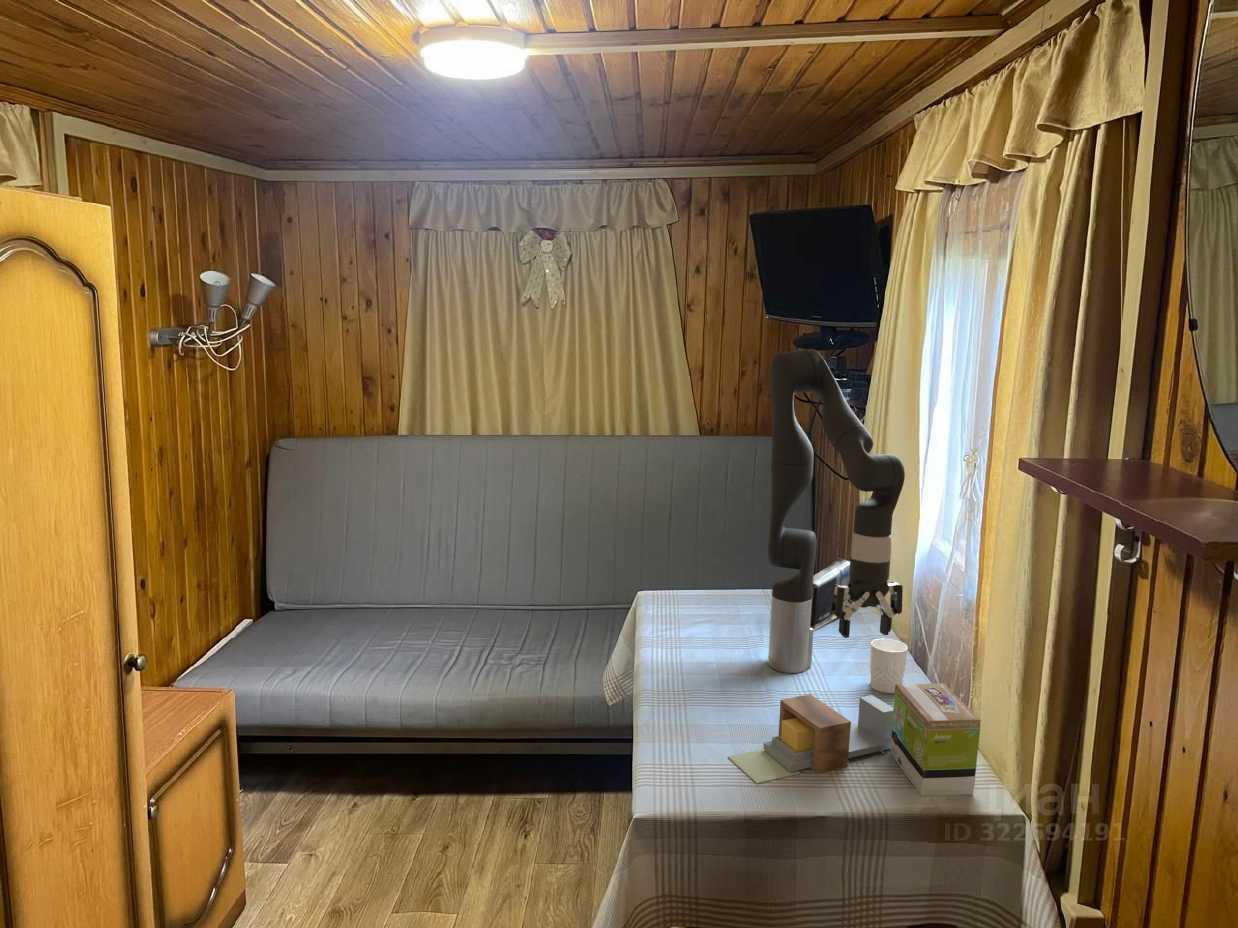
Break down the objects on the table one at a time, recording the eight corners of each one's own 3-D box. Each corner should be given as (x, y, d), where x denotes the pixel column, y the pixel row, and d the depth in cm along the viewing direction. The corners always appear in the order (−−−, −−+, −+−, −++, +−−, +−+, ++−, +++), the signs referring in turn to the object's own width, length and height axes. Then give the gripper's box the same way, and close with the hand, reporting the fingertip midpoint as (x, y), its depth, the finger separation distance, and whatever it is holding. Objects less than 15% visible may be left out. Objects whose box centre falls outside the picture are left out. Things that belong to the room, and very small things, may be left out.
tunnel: (807, 736, 176) (810, 694, 174) (847, 766, 164) (851, 721, 163) (778, 742, 173) (780, 699, 171) (816, 773, 162) (819, 728, 160)
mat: (768, 748, 170) (768, 747, 170) (799, 773, 161) (799, 772, 161) (728, 757, 167) (728, 756, 167) (757, 783, 158) (757, 782, 158)
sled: (866, 726, 179) (868, 692, 178) (896, 747, 171) (899, 711, 170) (763, 748, 169) (765, 713, 168) (790, 771, 161) (793, 734, 160)
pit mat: (850, 730, 178) (850, 729, 178) (883, 754, 169) (883, 753, 169) (817, 737, 175) (817, 736, 175) (850, 761, 166) (850, 760, 166)
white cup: (906, 683, 201) (909, 642, 199) (901, 697, 194) (905, 654, 192) (870, 677, 204) (874, 636, 203) (864, 690, 197) (868, 647, 196)
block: (802, 740, 170) (804, 716, 169) (818, 752, 166) (820, 727, 165) (780, 744, 168) (782, 720, 167) (796, 757, 164) (797, 732, 163)
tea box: (887, 754, 169) (893, 681, 167) (938, 753, 170) (945, 681, 168) (920, 797, 155) (927, 719, 152) (975, 796, 156) (983, 717, 153)
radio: (810, 633, 231) (814, 578, 228) (784, 623, 237) (787, 570, 235) (860, 613, 247) (864, 562, 244) (834, 605, 253) (837, 555, 250)
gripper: (893, 549, 178) (887, 626, 180) (828, 551, 174) (822, 630, 177) (913, 559, 171) (906, 639, 173) (846, 562, 167) (840, 644, 170)
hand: (864, 635), depth 175 cm, fingers open, 8 cm apart
